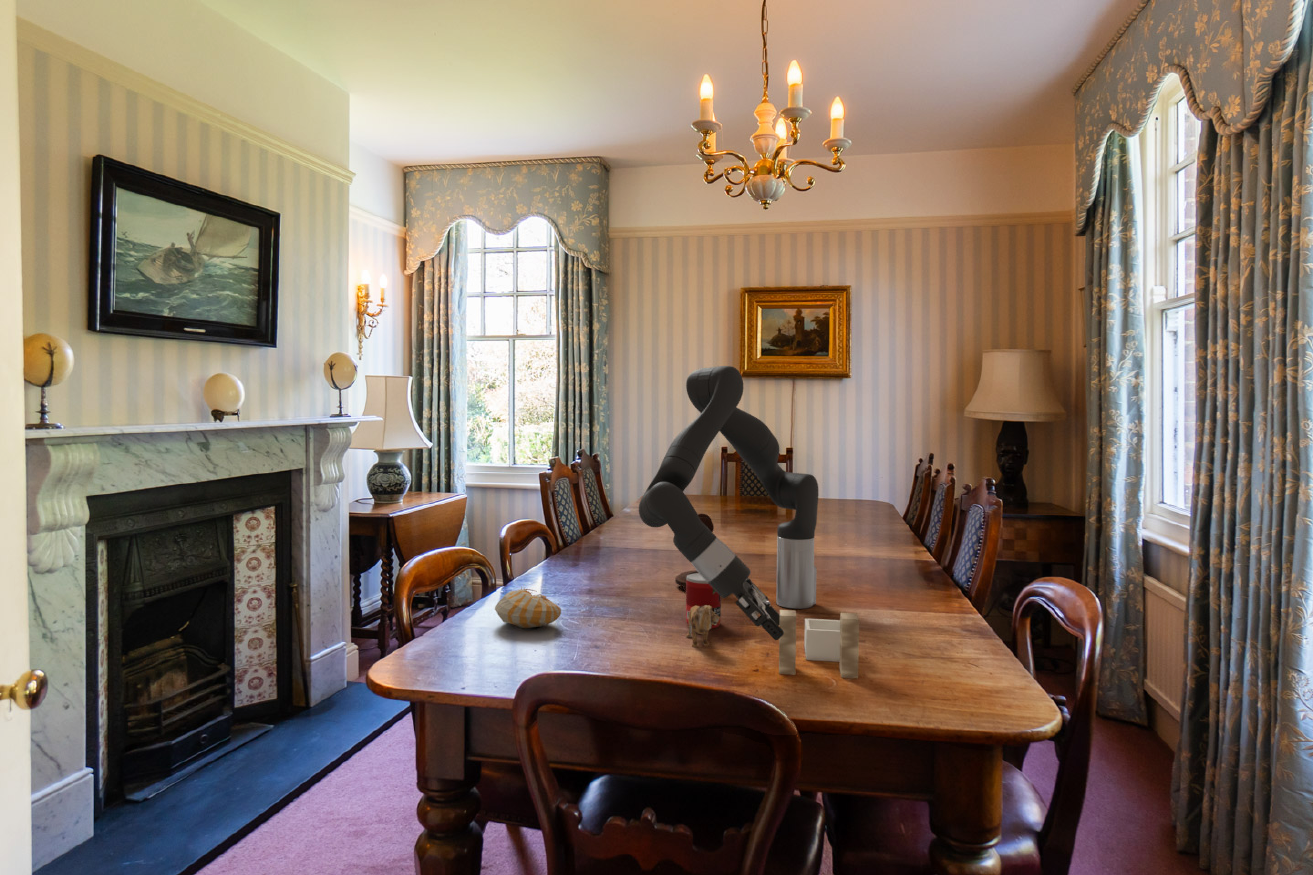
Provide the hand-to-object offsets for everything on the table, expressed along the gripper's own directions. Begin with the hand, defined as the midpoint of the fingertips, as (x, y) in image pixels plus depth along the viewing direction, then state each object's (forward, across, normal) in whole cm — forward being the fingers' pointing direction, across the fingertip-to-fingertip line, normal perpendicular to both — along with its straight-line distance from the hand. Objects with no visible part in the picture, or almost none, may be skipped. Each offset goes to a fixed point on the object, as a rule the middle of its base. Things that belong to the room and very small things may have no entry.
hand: (780, 629), depth 140 cm
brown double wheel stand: (-9, +61, +20) cm, 65 cm away
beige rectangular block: (+14, 0, -4) cm, 15 cm away
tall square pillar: (+6, 0, +4) cm, 8 cm away
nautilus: (-34, +21, +46) cm, 61 cm away
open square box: (+12, +11, -1) cm, 16 cm away
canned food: (-7, +27, +18) cm, 33 cm away
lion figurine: (-6, +14, +17) cm, 23 cm away
